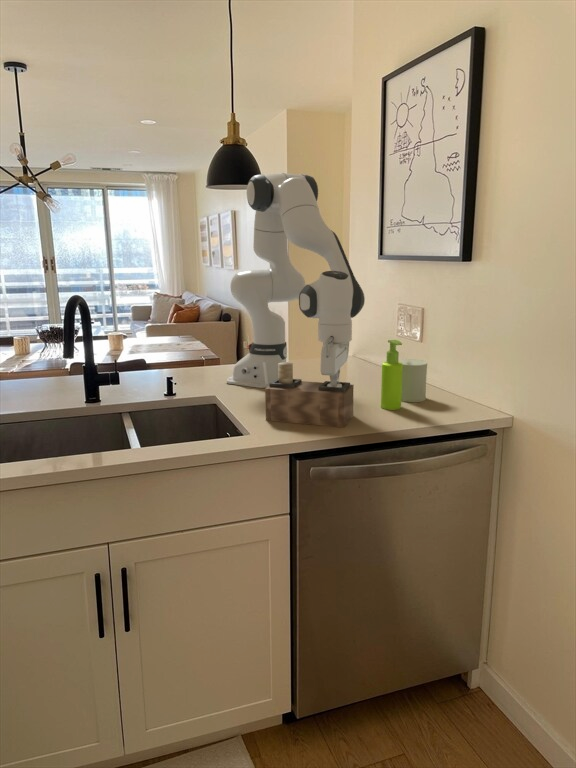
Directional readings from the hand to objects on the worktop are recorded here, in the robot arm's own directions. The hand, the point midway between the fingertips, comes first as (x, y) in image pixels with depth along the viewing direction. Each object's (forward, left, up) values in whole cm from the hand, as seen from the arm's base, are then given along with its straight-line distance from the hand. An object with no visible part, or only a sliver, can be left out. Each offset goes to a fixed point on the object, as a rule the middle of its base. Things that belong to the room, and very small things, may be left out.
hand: (334, 384), depth 151 cm
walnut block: (-7, 0, -10) cm, 12 cm away
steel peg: (0, 0, -8) cm, 8 cm away
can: (+17, +29, -10) cm, 35 cm away
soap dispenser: (+13, +17, -10) cm, 24 cm away
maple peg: (-14, 0, -3) cm, 14 cm away
